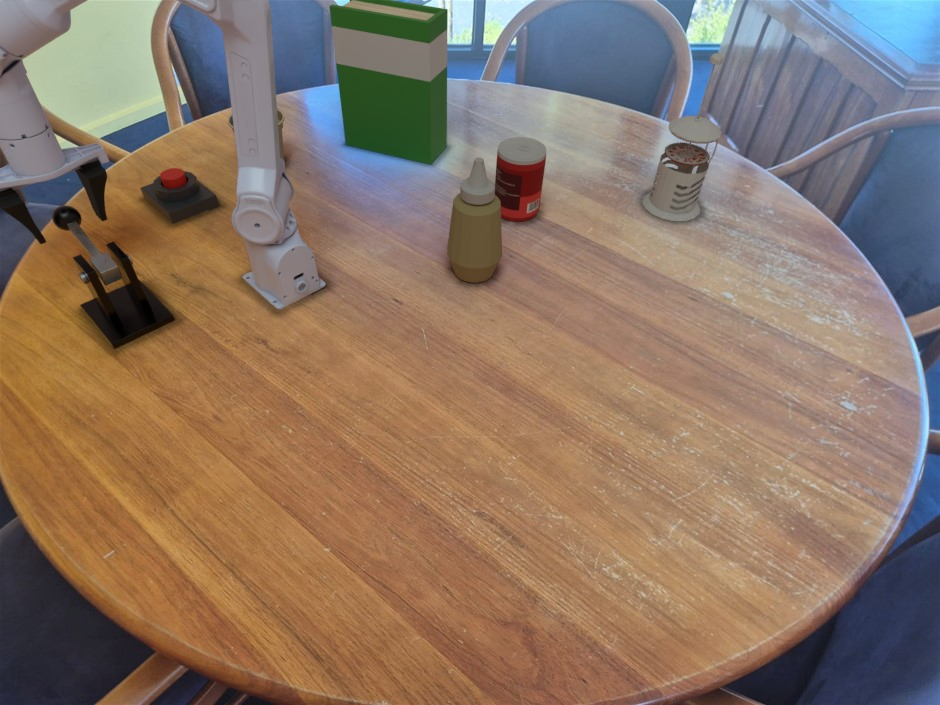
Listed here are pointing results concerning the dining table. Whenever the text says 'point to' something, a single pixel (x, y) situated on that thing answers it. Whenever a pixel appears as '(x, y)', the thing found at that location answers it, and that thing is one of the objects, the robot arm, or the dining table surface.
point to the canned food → (519, 177)
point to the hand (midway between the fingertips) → (72, 228)
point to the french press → (683, 166)
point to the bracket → (121, 302)
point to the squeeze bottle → (475, 227)
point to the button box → (180, 198)
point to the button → (173, 178)
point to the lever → (87, 244)
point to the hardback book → (392, 76)
